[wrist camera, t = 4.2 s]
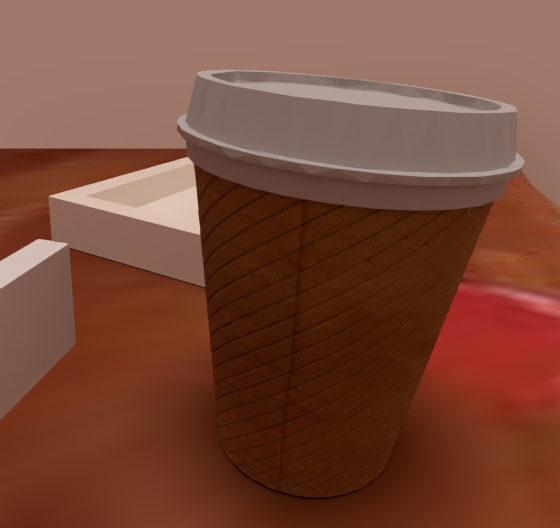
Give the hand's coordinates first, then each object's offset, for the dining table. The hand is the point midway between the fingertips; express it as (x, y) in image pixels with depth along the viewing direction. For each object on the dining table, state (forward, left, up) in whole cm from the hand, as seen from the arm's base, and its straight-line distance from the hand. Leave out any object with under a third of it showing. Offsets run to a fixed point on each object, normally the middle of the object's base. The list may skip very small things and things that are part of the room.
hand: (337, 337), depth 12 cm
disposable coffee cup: (-2, +5, -7) cm, 9 cm away
